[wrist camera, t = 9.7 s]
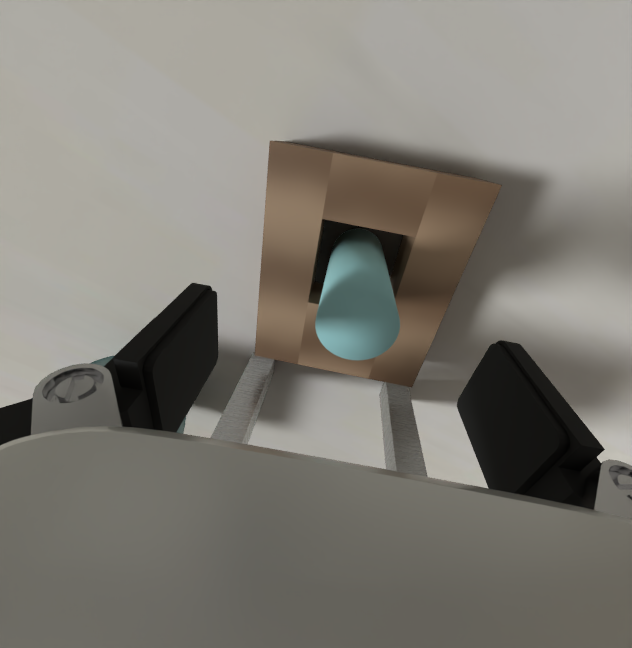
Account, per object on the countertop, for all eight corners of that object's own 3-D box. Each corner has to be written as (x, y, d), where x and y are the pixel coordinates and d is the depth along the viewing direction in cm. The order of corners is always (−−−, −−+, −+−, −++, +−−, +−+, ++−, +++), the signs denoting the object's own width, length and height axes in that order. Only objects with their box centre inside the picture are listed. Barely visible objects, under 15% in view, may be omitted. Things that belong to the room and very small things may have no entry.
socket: (283, 141, 18) (269, 140, 15) (478, 178, 18) (501, 185, 15) (266, 331, 26) (254, 355, 23) (405, 359, 26) (411, 387, 23)
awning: (250, 307, 25) (143, 470, 12) (431, 343, 24) (507, 547, 12) (247, 367, 28) (160, 543, 16) (406, 400, 28) (445, 605, 15)
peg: (336, 223, 21) (323, 280, 12) (388, 234, 21) (412, 298, 12) (327, 273, 22) (309, 351, 14) (375, 282, 22) (386, 367, 14)
